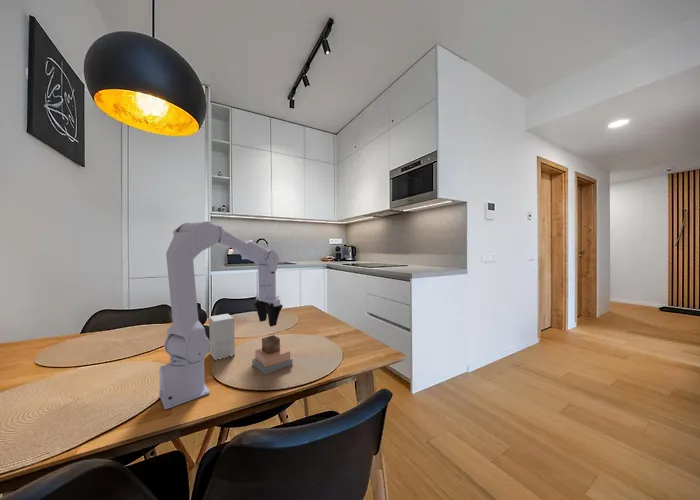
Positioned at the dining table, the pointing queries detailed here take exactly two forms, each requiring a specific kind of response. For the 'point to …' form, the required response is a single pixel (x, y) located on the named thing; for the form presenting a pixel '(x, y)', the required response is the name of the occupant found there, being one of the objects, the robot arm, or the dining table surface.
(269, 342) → the walnut cube
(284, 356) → the terracotta tile
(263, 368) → the slate slab
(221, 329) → the small box
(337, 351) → the dining table surface
